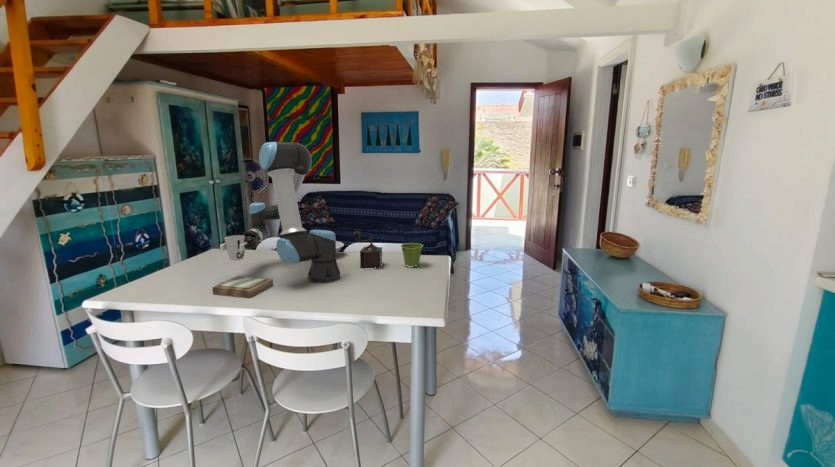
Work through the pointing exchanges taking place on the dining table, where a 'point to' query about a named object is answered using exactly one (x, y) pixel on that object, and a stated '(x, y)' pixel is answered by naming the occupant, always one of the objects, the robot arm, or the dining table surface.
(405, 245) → the plant pot
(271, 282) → the wooden tray
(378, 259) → the manual coffee grinder
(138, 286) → the dining table surface
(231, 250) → the cup
